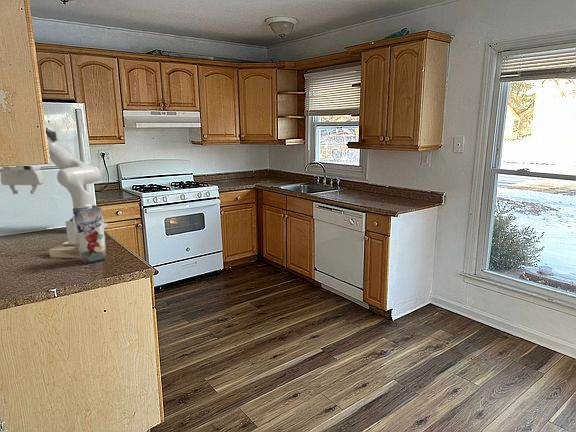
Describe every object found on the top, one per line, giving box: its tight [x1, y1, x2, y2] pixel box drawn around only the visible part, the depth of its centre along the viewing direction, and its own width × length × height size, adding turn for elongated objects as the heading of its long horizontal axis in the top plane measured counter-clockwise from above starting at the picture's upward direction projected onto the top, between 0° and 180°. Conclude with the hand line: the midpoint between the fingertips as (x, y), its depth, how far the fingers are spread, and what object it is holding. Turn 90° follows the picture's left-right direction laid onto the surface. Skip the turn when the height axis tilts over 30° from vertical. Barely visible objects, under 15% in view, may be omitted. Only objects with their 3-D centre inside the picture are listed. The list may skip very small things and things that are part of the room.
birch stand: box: [48, 240, 81, 259], centre depth 201 cm, size 18×16×8 cm
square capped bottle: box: [65, 218, 78, 245], centre depth 200 cm, size 4×4×13 cm
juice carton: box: [74, 204, 107, 265], centre depth 186 cm, size 9×10×27 cm
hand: (24, 193), depth 202 cm, fingers open, 8 cm apart
